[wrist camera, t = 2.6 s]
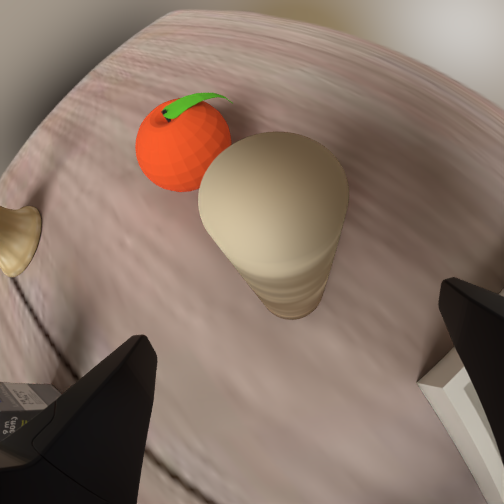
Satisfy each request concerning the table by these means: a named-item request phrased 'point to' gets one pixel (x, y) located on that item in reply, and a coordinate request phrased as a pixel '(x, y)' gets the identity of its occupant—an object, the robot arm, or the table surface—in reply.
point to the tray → (466, 422)
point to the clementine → (181, 141)
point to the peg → (277, 216)
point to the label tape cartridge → (22, 404)
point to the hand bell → (18, 238)
